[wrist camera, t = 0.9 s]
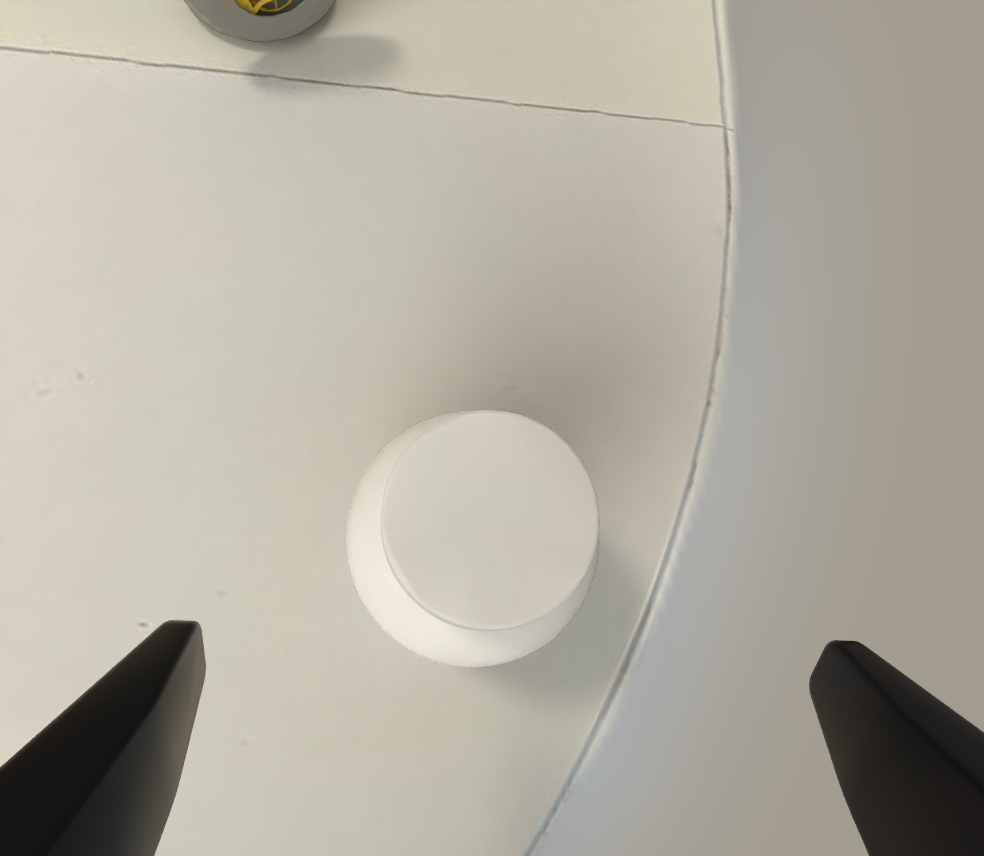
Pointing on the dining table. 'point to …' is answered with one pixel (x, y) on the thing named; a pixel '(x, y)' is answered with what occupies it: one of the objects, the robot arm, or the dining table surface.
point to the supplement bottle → (474, 537)
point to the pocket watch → (260, 16)
